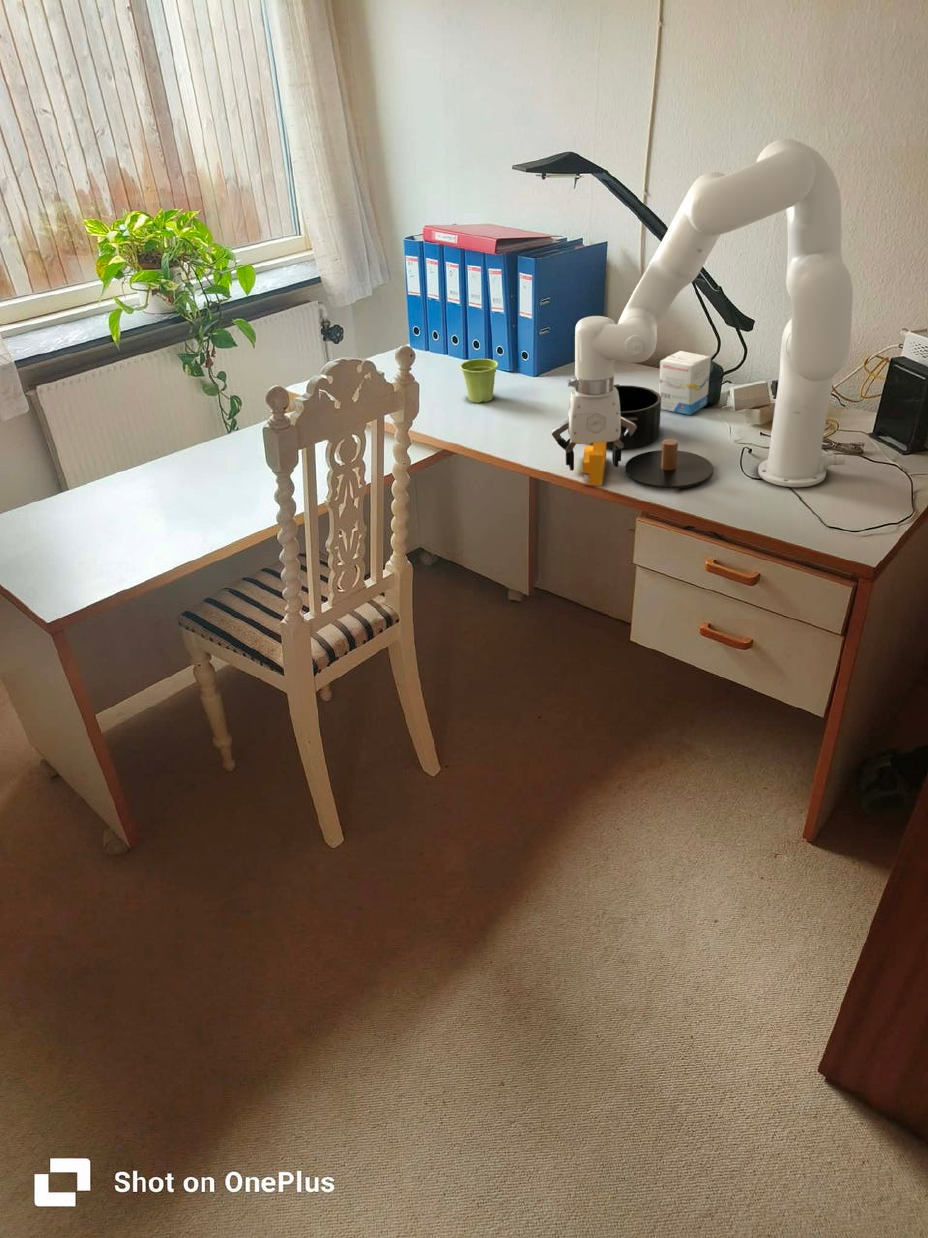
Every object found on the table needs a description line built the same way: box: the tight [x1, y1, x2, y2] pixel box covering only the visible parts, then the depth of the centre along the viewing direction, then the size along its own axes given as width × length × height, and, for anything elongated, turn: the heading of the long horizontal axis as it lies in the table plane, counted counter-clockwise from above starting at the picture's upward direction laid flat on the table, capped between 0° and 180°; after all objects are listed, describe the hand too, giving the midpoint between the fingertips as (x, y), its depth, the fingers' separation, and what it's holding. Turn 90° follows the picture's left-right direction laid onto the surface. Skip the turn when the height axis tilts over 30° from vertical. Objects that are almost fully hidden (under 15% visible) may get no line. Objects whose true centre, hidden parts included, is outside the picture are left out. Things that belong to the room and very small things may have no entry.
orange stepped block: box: [582, 442, 607, 486], centre depth 178 cm, size 12×4×6 cm, turn 168°
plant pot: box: [459, 358, 499, 403], centre depth 217 cm, size 9×9×9 cm
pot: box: [589, 384, 662, 451], centre depth 192 cm, size 16×22×8 cm
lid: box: [624, 438, 714, 490], centre depth 175 cm, size 17×17×7 cm
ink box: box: [658, 350, 712, 416], centre depth 203 cm, size 9×8×12 cm
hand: (593, 465), depth 179 cm, fingers open, 8 cm apart
